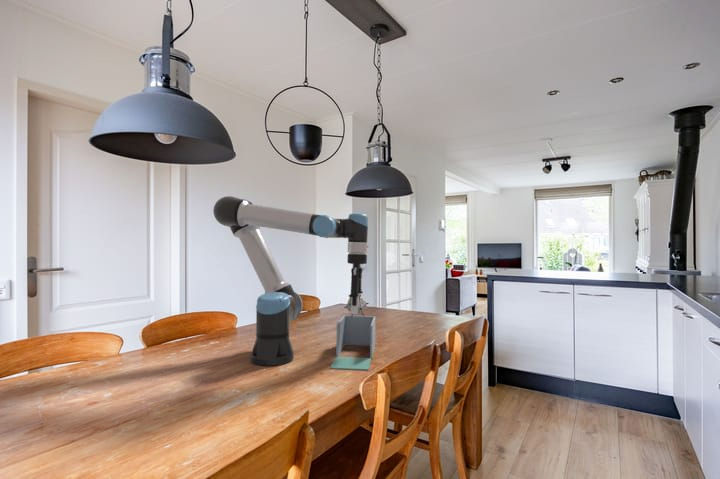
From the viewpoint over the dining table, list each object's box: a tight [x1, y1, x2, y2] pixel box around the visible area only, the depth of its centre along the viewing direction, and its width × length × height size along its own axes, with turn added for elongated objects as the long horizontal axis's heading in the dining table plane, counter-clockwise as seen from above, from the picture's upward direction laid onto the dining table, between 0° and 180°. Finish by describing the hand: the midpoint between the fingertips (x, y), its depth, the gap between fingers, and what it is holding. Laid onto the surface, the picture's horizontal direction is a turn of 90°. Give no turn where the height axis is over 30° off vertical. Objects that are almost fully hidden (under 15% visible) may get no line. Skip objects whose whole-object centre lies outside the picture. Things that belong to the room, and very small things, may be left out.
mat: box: [329, 356, 372, 371], centre depth 130 cm, size 13×12×1 cm
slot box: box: [335, 314, 376, 359], centre depth 147 cm, size 13×18×12 cm
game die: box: [343, 294, 370, 316], centre depth 145 cm, size 9×8×10 cm
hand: (355, 311), depth 144 cm, fingers closed on game die, 8 cm apart
